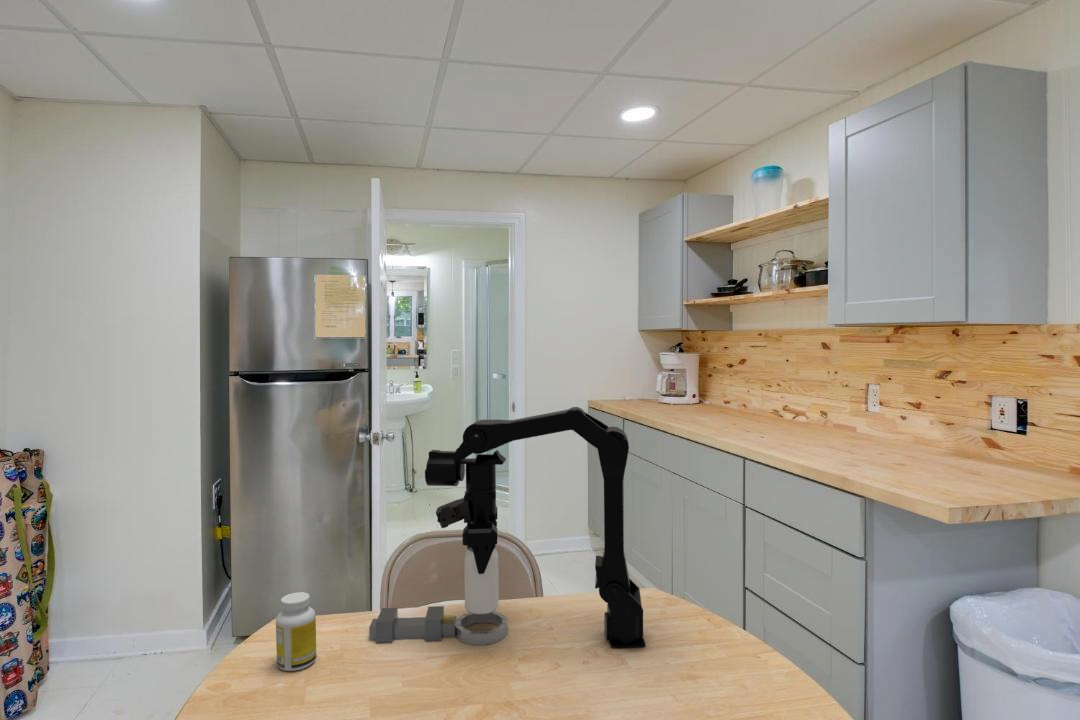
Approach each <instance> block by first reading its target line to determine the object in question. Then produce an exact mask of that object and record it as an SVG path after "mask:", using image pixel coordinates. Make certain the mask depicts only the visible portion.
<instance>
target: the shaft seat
mask: <svg viewBox="0 0 1080 720" xmlns="http://www.w3.org/2000/svg"><path fill="white" fill-rule="evenodd" d="M398 609H399V608H398V607H382V608H381V610H380V612H379V615H378V617H377V618H372V620H371V623H370V624H369V626H368V628H369V630H368V634H369V636H368V637H369V641H375V644H391V643H392V642H394V640H395V641H396V640H416V639H417V640H419V639H420V640H421V639H424V642H426V643H429V642H442V639H444V638H445V639H446V638H447V639H448V638H449V639H450V638H456V639H458V640H459V641H460V642H461V643H462V644H463V643H464V644H468V645H472V646H480V645H481V646H485V645H491V644H494V643H498V642H501V641H502V640H503V639H504V638H506V637H507V636H508V634H509V631H508V628H509V627H508V626H509V625H508V623H509V622H508V617H507V616H505V614H503V613H502V612H499V611H494V612H492V613H490V614H486V615H475V614H471V613H469V612H466V613H463V614H462V615H460V616H458V617H457V616H456V615H455V614H445V607H444V605H441V606H439V605H437V606H427V611H426V615H425V616H424V617H423V616H422V617H421V616H420V617H419V616H418V617H417V616H416V617H399V613H398V612H399V611H398ZM477 623H481V624H482V623H487V624H488V623H489V624H493V625H497V626H498V627H496V628H494V629H491V630H488V631H487V630H486V631H474V630H473V631H472V630H470V629H466V627H468V626H470V625H471V626H472V625H474V624H477ZM387 642H388V643H387ZM390 642H391V643H390Z"/></svg>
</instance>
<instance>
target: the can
mask: <svg viewBox="0 0 1080 720" xmlns="http://www.w3.org/2000/svg"><path fill="white" fill-rule="evenodd" d="M499 603H500V601H499V554H498V551H497V544H496V545H495V547H494V550H493V552H492V555H491V557H490V560H489V562H488V565H487V567H486V570H485V572H484V574H478V570H477V566H476V562H475V558H474V553H473V550H472V548H470V547H469V546H466V551H465V554H464V608H465V610H466V611H467V613H471V614H475V615H486V614H490V613H492V612H496V611H497V609H498V608H499Z"/></svg>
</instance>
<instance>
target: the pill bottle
mask: <svg viewBox="0 0 1080 720" xmlns="http://www.w3.org/2000/svg"><path fill="white" fill-rule="evenodd" d="M280 599H281V600H280V608H281V610H282V611H280V612H279V613H278V614H277V615H276V618H275V638H276V639H275V641H276V643H275V644H276V665H277V667H278V668H279V669H280V670H282V671H286V672H295V671H301V670H303V669H306V668H308V667H310V666H311V665H313V664H314V662H315V661H316V659H317V627H316V626H317V624H316V623H317V622H316V621H317V617H316V611H315V610H314V609H313V608H312V607H311V606H309V605H311V604H310V603H311V597H310V593H307V592H303V591H302V592H301V591H300V592H292V593H289V594H286V595H284V596H283V597H282V598H280Z"/></svg>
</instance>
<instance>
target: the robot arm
mask: <svg viewBox="0 0 1080 720" xmlns="http://www.w3.org/2000/svg"><path fill="white" fill-rule="evenodd" d="M566 431H567V432H569V431H573V432H574V433H576V434H577V435H578V436H580V437H581V438H582V439H584V440H585V441H586V442H588V443H589V444H590V445H591V446H593V447H594V448H595V449H596V450H597V454H598V460H599V464H600V469H601V473H602V477H603V516H604V517H603V526H604V529H603V530H604V535H603V536H604V537H603V538H604V544H603V545H604V548H603V554H602V556H601V555H597V554H596V555H595V564H594V569H595V582H594V583H595V584H594V585H595V586H594V589H598V592H599V593H598V594H599V597H600V598H601V600H603V601H604V602H605V603H606V604H607V605H606V607H607V608H606V610H607V611H605V612H604V618H603V620H604V622H603V626H604V628H603V631H604V636H605V639H606V640H607V641H608V643H609V645H610V648H613V649H614V648H617V649H618V648H639V647H640V648H641V647H642V648H644V647H646V643H647V642H646V641H645V639H644V609H643V606H642V599H641V598H642V596H641V591H640V590H641V589H640V587H639V586H638V585H637V584H636V583H635V582H634V581H633V580H632V579H631V578H630V575H629V569H628V562H627V559H626V555H625V549H624V542H625V541H624V476H625V471H626V467H627V463H628V457H629V456H628V455H629V449H630V446H629V439H628V436H627V435H628V434H627V433H626V432H625V431H624V430H623V429H621V428H619V427H618V426H609V425H607V424H605V423H604V422H602V421H601V420H599V419H597V418H595V417H593V416H592V415H590V414H589V413H588V412H585V410H584V409H583V408H581V407H578V406H573V407H572V406H571V407H570V408H568V409H564V410H558V411H554V412H553V411H552V412H547V413H543V414H542V413H541V414H537V415H532V416H526V417H521V418H517V419H479V420H477V421H475V422H473V423H471V424H470V425H468V426H467V427H466V428H465V429H464V431H463V434H462V442H461V444H459V446H458V447H457V448H456V449H455V451H454V450H446V451H445V450H440V449H431V450H430V451H429V452H428V459H427V462H426V467H425V469H424V479H425V484H426V486H429V487H430V486H431V487H433V486H434V487H458V485H459V483H460V482H463V481H464V479H465V491H464V495H463V497H461V498H459V499H456V500H453V501H449V502H447V503H445V504H442V505H440V506H438V507H437V508H436V511H435V515H436V518H437V523H439V525H440V529H445V528H447V527H449V526H450V525H453V524H456V523H458V522H460V521H462V520H463V523H464V524H466V526H465V527H464V528H463V531H462V537H461V538H462V546H466V547H467V546H469V547H470V548H472V550H473V553H474V558H475V562H476V566H477V570H478V574H484V572H485V570H486V567H487V565H488V562H489V560H490V557H491V555H492V552H493V550H494V547H495V545H496V546H497V544H498V527H497V526H498V521H497V520H498V507H497V483H496V482H497V476H496V474H497V472H496V471H497V469H496V467H497V465H498V466H499V465H501V466H502V465H504V464H505V462H506V460H507V458H506V457H504V455H502V454H501V453H500V451H499V450H495V449H498V448H499V447H502V446H504V445H507V444H509V443H511V442H514V441H519V440H525V439H530V438H535V437H541V436H546V435H550V434H556V433H560V432H561V433H562V432H566ZM491 450H495V451H494V452H493V454H492V453H486V452H489V451H491ZM472 454H475V455H476V457H472V458H468V457H469V456H471V455H472Z"/></svg>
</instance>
